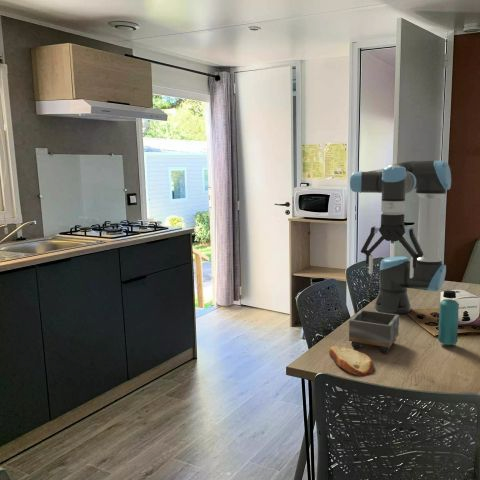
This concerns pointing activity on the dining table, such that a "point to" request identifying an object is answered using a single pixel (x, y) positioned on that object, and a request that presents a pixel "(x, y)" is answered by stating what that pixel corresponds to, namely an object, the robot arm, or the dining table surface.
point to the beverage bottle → (448, 319)
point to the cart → (373, 329)
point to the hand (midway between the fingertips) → (390, 275)
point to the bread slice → (351, 360)
